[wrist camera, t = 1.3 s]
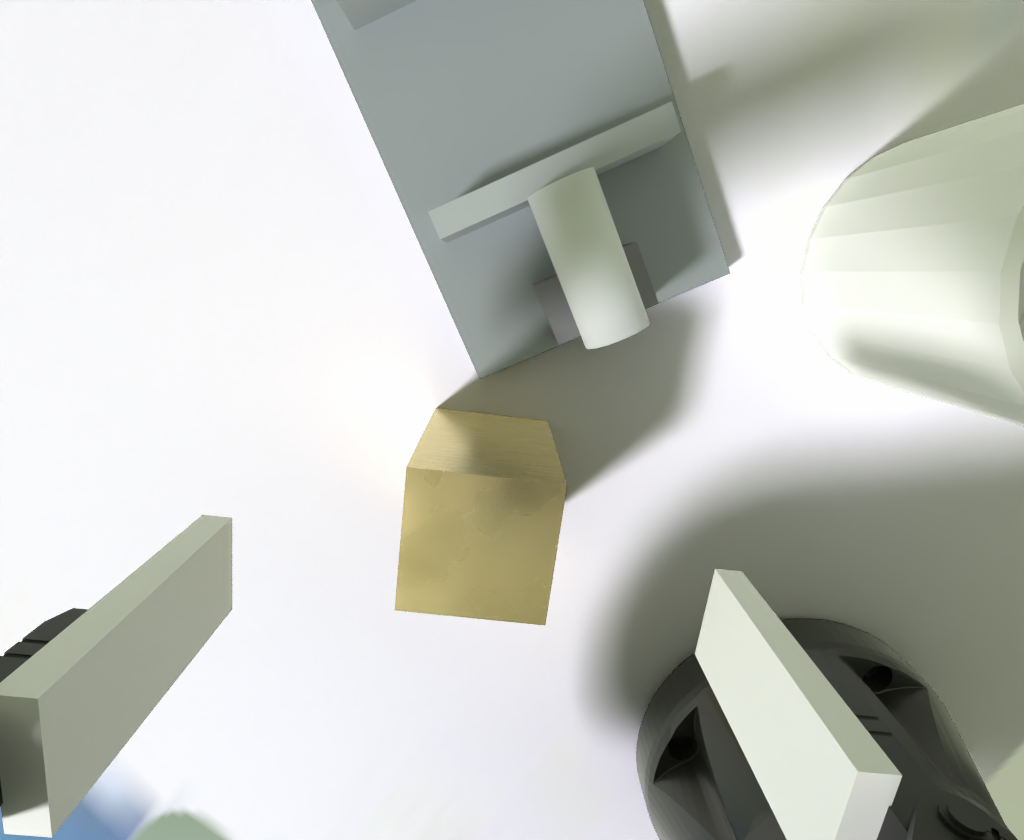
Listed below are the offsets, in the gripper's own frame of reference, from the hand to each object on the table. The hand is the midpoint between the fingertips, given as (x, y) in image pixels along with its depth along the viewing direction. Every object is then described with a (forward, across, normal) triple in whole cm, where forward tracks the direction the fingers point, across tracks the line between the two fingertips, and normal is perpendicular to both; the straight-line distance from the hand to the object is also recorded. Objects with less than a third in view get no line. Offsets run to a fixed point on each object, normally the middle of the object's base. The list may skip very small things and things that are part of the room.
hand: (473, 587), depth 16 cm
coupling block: (+11, 0, 0) cm, 11 cm away
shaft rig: (+11, +1, -15) cm, 19 cm away
